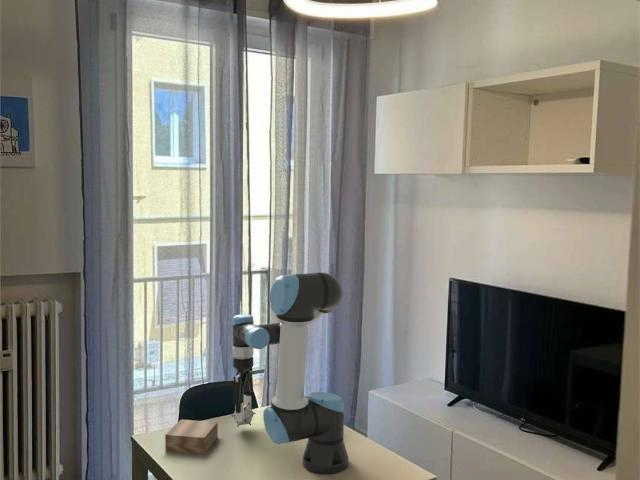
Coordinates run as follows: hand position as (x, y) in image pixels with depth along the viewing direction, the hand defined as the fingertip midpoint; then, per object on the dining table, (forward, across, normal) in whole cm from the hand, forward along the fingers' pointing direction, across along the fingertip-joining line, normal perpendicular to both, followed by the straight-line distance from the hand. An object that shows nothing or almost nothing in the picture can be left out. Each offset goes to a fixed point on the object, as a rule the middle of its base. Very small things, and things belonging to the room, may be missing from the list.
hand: (243, 416), depth 228 cm
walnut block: (+6, +16, -13) cm, 21 cm away
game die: (+4, 0, 0) cm, 4 cm away
